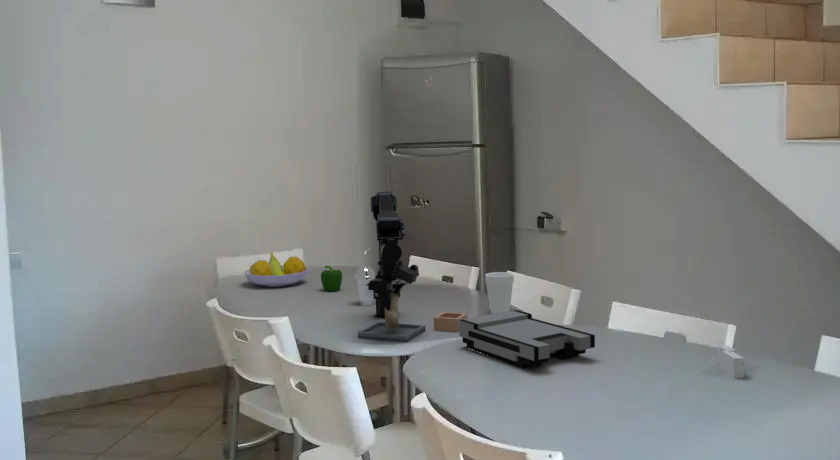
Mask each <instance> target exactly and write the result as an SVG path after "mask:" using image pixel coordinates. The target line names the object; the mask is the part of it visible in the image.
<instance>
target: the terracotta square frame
mask: <svg viewBox="0 0 840 460" xmlns="http://www.w3.org/2000/svg"><path fill="white" fill-rule="evenodd" d="M463 319H468V313H466V312H465V313H464V312H462V313H461V312H447V311H442V312H440V313H439V314H437V315H436V316H435V315H434V316H433V330H434V331H440V332H443V331H444V332H453V333H459V320H463Z"/></svg>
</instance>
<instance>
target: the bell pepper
mask: <svg viewBox="0 0 840 460" xmlns="http://www.w3.org/2000/svg"><path fill="white" fill-rule="evenodd" d="M324 268H325V270H324V269H323V271H321V273H320V281H321V284H322V288H323V291H326V292H339V290H340V289H341V286H342V281H343V273H342V271H341V269H333V267H332V266H331V265H327V264H325V266H324ZM327 268H328V269H329V270H327Z"/></svg>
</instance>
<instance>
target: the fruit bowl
mask: <svg viewBox="0 0 840 460" xmlns="http://www.w3.org/2000/svg"><path fill="white" fill-rule="evenodd" d="M309 271H310V269H309V268H308V267H307V266H306V265H305V263H304V260H302V259H301V258H299V257H297V256H289V257H288V258H287V259H286V261H284V263H283V264H282V265H281V263H280V262H279V260H278V259H277V258H276V257H275V256H274V252H270V257H269V261H267V260H264V259H263V260H262V259H259V260H257V261H255V262H254V263H253V264H252V265H250V267H249V269H247V270H244V271H243V272H244V276H245V278H246V281H247V282H251V283H253V284H256V285H258V286H260V287H261V286H262V287H267V288H279V287H286V286H294V285H295V284H296V283H299V282H300V281H302V280H304V279H305V278H306V275H307V274H308V272H309Z"/></svg>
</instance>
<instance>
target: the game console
mask: <svg viewBox="0 0 840 460" xmlns="http://www.w3.org/2000/svg"><path fill="white" fill-rule="evenodd" d="M458 333H459V335H458V336H459V337H462V343H463V344H465V345H466V349H467V348H470V349H473V350H475V351H478V352H481V353H483V354H485V355H488V356H490V357H489V358H491V357H493V358H492V359H494V358H496V359H495V360H497V359H498V360H497V361H500V360H501V361H500V362H502V361H503V362H502V363H505V362H506V364H509V365H511V366H514V367H517V368H519V369H523V370H525V369H529V368H534V367H535V368H536V367H538V366H539V367H540V366H542V363H546V362H547V363H548V362H549V358H553V359H557V360H560V361H565V360H569V359H574V358H578V357H580V355H581V354H586V350H589V349H594V348H595V346H596V335H595V334H592V333H589V332H586V331H585V332H584V331H581V330H578V329H575V328H570V327H566V326H563V325H559V324H556V323H550V322H548V321H543V320H540V319H536V318H533V315H532V313H531V312H530V313H529V312H525V311H523V310H522V311H521V310H517V309H516V310H515V309H514V310H510V311H508V312H503V313H497V314H491V313H490V314H486V315H481V316H476V317H471V318H467V319H463V320H459V332H458ZM483 354H482V355H483ZM485 355H484V356H485ZM488 356H487V357H488Z"/></svg>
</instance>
